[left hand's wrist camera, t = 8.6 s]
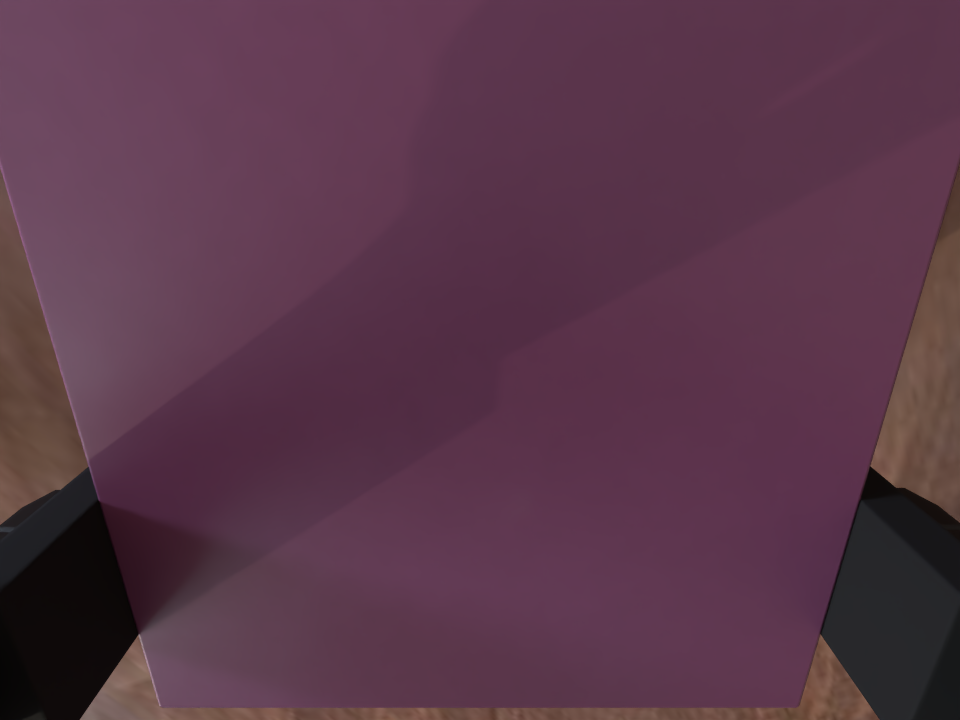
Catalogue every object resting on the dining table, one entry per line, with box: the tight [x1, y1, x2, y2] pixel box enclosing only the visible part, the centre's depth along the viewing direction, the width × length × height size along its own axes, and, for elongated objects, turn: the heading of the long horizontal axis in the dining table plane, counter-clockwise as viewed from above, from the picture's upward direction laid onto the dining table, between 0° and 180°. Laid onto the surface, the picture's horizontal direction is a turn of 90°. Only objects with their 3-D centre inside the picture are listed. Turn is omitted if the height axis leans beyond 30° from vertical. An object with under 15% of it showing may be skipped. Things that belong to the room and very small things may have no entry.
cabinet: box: [0, 0, 960, 708], centre depth 12 cm, size 19×12×11 cm, turn 0°
